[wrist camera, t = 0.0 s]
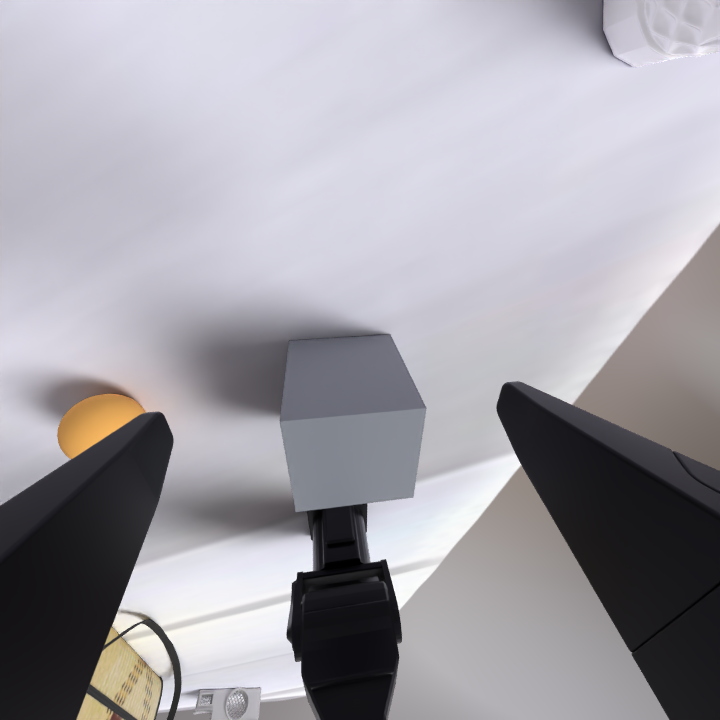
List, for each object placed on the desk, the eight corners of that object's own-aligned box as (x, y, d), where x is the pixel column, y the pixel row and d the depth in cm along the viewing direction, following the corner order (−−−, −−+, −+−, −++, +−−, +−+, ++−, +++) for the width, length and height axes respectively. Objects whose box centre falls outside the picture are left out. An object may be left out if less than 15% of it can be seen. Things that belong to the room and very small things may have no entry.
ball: (168, 427, 26) (141, 477, 22) (102, 433, 25) (61, 486, 21) (147, 377, 23) (111, 424, 19) (73, 382, 23) (19, 432, 18)
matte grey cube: (385, 410, 28) (413, 497, 21) (299, 418, 27) (295, 512, 20) (390, 334, 24) (426, 408, 17) (289, 340, 23) (279, 421, 16)
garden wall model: (197, 691, 58) (186, 740, 53) (199, 687, 57) (189, 737, 52) (260, 689, 62) (256, 734, 57) (263, 686, 62) (259, 732, 57)
